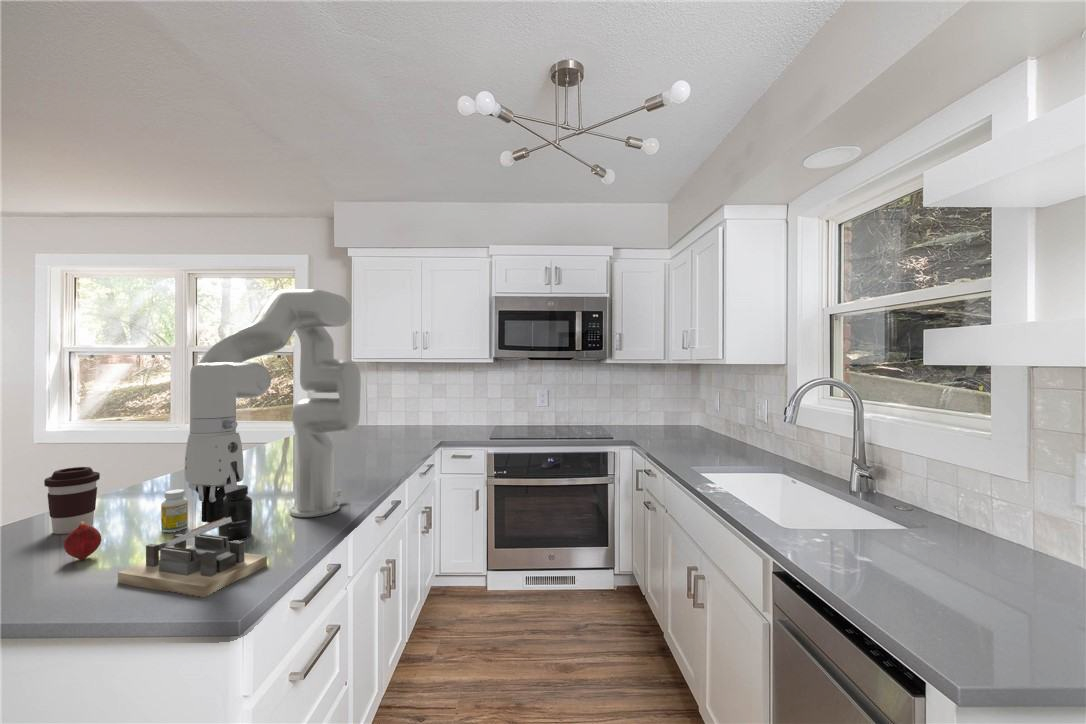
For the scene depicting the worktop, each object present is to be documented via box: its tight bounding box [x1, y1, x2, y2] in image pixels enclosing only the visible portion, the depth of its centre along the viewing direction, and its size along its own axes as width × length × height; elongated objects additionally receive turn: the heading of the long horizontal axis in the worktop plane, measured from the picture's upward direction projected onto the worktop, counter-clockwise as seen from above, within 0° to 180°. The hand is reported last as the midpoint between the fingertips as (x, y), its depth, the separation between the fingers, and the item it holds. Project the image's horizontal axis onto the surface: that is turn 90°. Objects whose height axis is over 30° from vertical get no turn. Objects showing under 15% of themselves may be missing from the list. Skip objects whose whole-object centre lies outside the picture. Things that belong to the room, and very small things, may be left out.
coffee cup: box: [43, 466, 101, 535], centre depth 122 cm, size 10×10×15 cm
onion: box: [63, 521, 102, 561], centre depth 104 cm, size 6×6×8 cm
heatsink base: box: [117, 533, 268, 598], centre depth 98 cm, size 14×21×6 cm, turn 75°
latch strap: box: [158, 517, 232, 552], centre depth 98 cm, size 4×16×1 cm, turn 75°
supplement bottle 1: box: [160, 488, 189, 533], centre depth 122 cm, size 5×5×10 cm
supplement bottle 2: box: [218, 484, 253, 541], centre depth 117 cm, size 7×7×12 cm
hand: (212, 520), depth 96 cm, fingers closed
